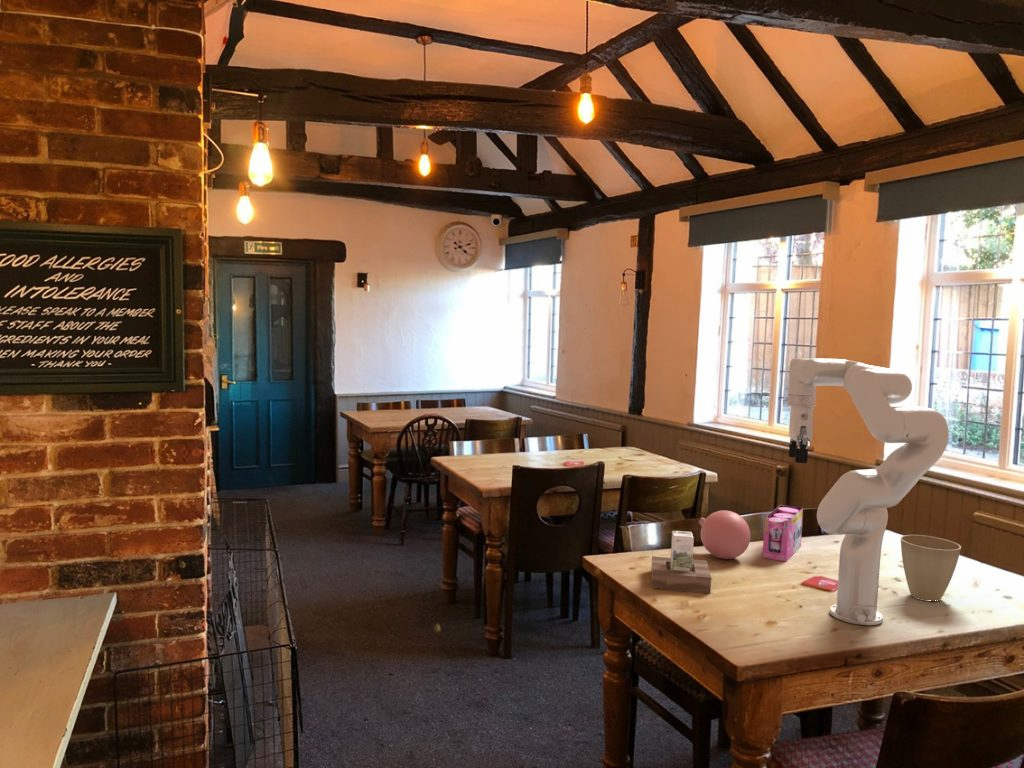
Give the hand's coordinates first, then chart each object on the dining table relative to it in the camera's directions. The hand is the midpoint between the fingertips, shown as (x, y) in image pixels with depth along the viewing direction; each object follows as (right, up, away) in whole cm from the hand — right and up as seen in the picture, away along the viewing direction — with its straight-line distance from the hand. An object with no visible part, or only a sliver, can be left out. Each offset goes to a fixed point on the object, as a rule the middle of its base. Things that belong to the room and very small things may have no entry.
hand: (797, 459), depth 222 cm
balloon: (-15, -34, +27) cm, 46 cm away
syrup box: (-34, -36, 0) cm, 49 cm away
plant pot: (+34, -38, -6) cm, 51 cm away
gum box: (+8, -34, +35) cm, 49 cm away
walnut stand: (-34, -35, 0) cm, 49 cm away
